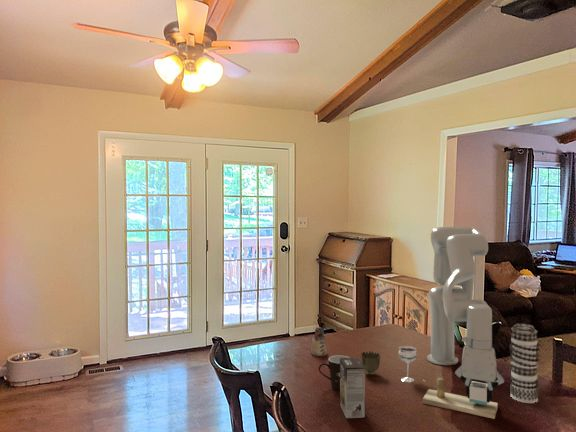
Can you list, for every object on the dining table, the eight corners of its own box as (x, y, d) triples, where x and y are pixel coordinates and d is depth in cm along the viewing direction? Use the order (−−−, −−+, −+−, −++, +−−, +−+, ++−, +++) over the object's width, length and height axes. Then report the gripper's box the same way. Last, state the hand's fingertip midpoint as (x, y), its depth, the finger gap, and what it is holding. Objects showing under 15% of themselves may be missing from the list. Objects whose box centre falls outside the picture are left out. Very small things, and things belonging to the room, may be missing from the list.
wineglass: (404, 374, 172) (404, 344, 172) (420, 379, 168) (420, 348, 167) (395, 379, 168) (394, 348, 168) (411, 384, 163) (410, 352, 163)
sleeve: (471, 395, 146) (471, 380, 146) (488, 399, 143) (488, 384, 143) (469, 401, 142) (469, 386, 142) (486, 405, 139) (486, 389, 139)
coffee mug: (354, 383, 164) (354, 356, 164) (349, 392, 156) (349, 364, 156) (323, 379, 168) (323, 353, 168) (318, 388, 160) (317, 361, 160)
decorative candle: (538, 406, 145) (539, 330, 144) (507, 399, 150) (507, 326, 149) (540, 396, 152) (540, 324, 152) (510, 390, 157) (510, 320, 157)
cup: (380, 378, 169) (380, 357, 169) (360, 377, 170) (360, 356, 170) (380, 371, 176) (380, 351, 176) (361, 370, 178) (361, 350, 177)
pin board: (429, 393, 155) (429, 372, 155) (497, 407, 144) (497, 384, 144) (422, 403, 148) (422, 380, 147) (494, 418, 136) (494, 394, 136)
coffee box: (339, 405, 146) (339, 357, 146) (358, 404, 147) (358, 356, 146) (345, 418, 137) (345, 367, 137) (365, 417, 138) (365, 366, 137)
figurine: (329, 352, 200) (329, 326, 199) (322, 357, 194) (322, 330, 193) (315, 350, 203) (315, 324, 203) (308, 354, 197) (308, 327, 197)
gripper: (449, 342, 143) (449, 397, 144) (507, 350, 135) (507, 409, 135) (453, 336, 150) (453, 389, 150) (509, 344, 141) (509, 400, 141)
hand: (479, 398), depth 143 cm, fingers closed on sleeve, 5 cm apart
